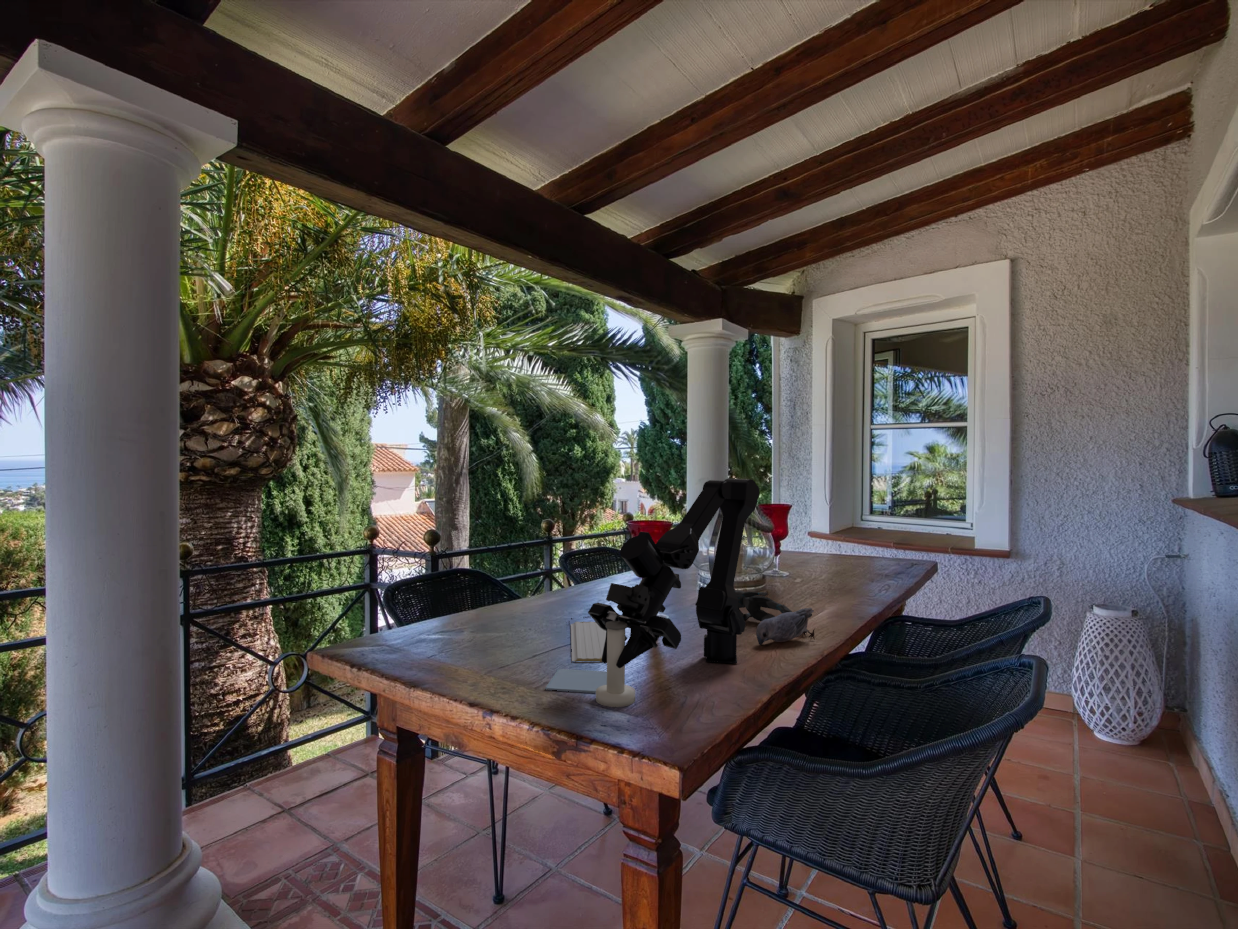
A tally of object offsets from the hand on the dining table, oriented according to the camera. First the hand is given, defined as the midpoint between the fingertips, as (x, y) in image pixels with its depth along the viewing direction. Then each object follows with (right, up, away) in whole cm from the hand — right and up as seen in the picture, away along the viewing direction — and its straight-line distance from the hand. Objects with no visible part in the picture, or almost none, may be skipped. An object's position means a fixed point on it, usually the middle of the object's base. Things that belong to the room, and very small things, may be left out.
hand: (610, 664), depth 116 cm
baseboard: (-6, -7, +37) cm, 38 cm away
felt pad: (-6, -6, +10) cm, 13 cm away
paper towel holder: (+1, -7, +1) cm, 7 cm away
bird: (+41, -7, +39) cm, 57 cm away
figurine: (+39, -6, +58) cm, 70 cm away
